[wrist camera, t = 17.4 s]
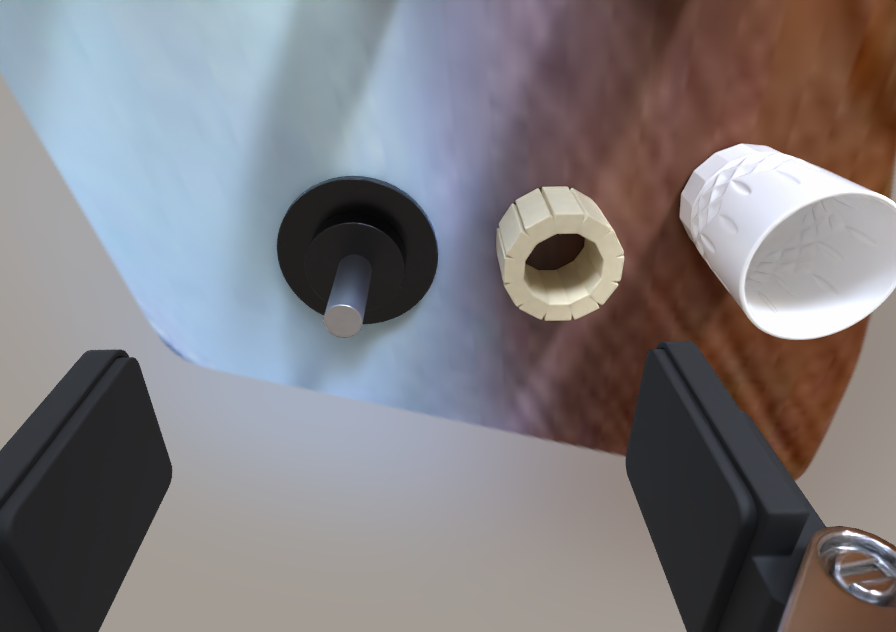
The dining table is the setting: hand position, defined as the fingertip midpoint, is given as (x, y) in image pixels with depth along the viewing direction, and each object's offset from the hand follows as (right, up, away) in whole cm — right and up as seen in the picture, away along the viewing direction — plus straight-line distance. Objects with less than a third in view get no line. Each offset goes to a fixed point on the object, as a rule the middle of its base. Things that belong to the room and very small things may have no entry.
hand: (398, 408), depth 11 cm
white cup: (+18, +9, +26) cm, 33 cm away
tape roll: (+7, +7, +27) cm, 29 cm away
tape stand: (-5, +6, +27) cm, 28 cm away
